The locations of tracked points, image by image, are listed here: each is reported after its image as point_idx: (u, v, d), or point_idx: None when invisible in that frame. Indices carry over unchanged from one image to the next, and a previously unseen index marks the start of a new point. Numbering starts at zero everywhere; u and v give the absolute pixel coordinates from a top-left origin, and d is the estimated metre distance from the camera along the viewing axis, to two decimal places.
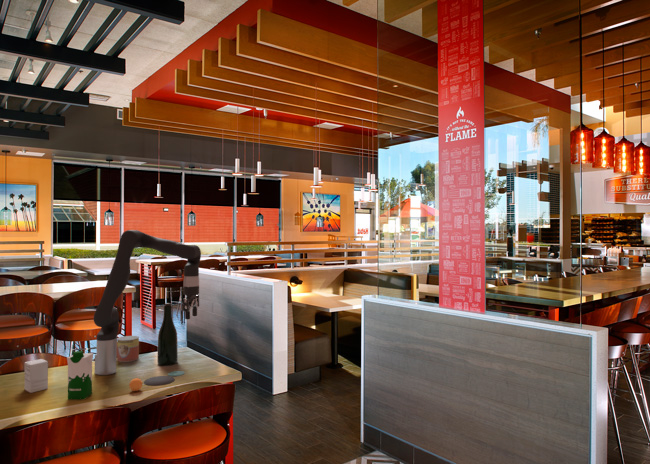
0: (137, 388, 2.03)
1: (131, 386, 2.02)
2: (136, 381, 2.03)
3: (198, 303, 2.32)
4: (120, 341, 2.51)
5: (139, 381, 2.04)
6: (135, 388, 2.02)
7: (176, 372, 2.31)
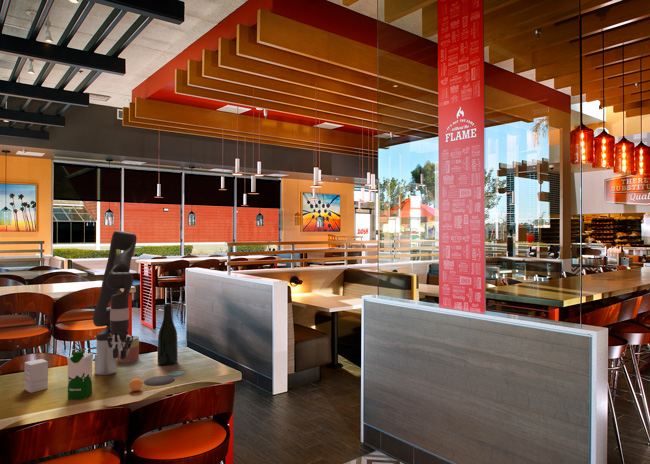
0: (137, 388, 2.03)
1: (131, 386, 2.02)
2: (136, 381, 2.03)
3: (125, 345, 1.93)
4: None
5: (139, 381, 2.04)
6: (135, 388, 2.02)
7: (176, 372, 2.31)
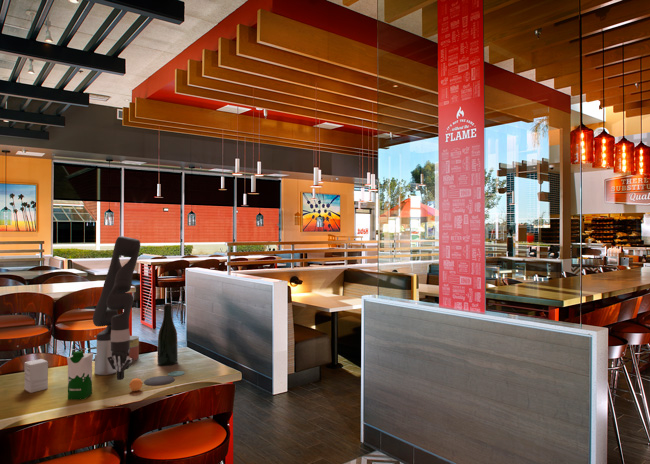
0: (137, 388, 2.03)
1: (131, 386, 2.02)
2: (136, 381, 2.03)
3: (123, 366, 1.94)
4: None
5: (139, 381, 2.04)
6: (135, 388, 2.02)
7: (176, 372, 2.31)
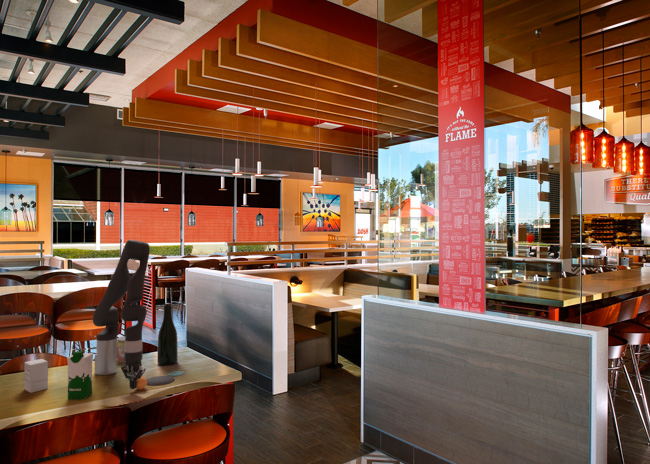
0: (141, 385, 2.05)
1: (137, 380, 2.05)
2: (143, 378, 2.07)
3: (136, 376, 2.02)
4: (120, 341, 2.51)
5: (146, 380, 2.07)
6: (139, 384, 2.04)
7: (176, 372, 2.31)
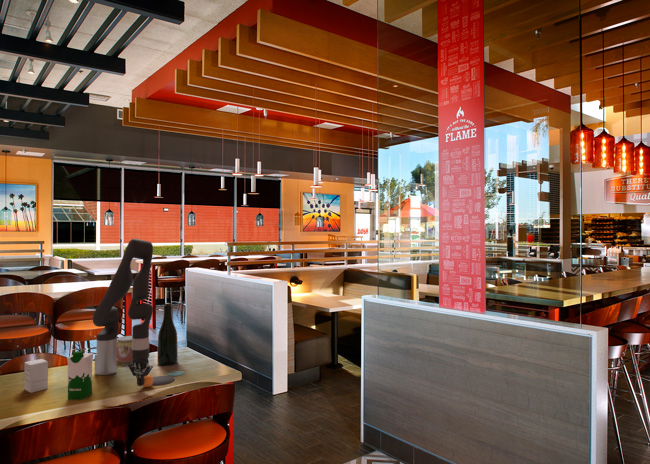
0: (149, 380, 2.08)
1: (148, 375, 2.10)
2: None
3: (143, 373, 2.05)
4: (120, 341, 2.51)
5: None
6: (148, 378, 2.09)
7: (176, 372, 2.31)
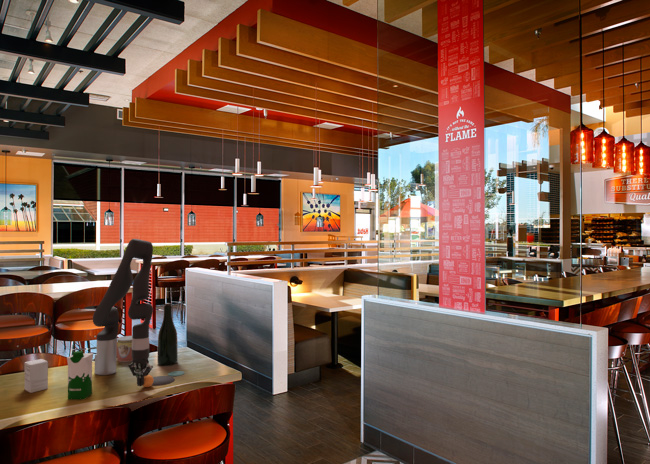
0: (149, 380, 2.08)
1: (149, 375, 2.10)
2: (153, 379, 2.11)
3: (143, 373, 2.05)
4: (120, 341, 2.51)
5: None
6: (148, 378, 2.09)
7: (176, 372, 2.31)
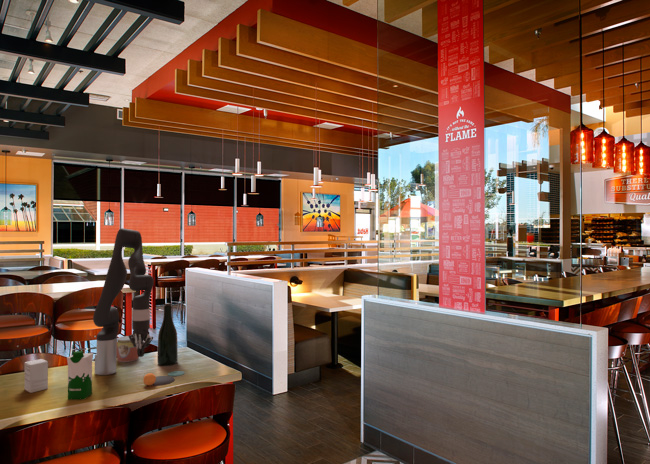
0: (152, 375, 2.12)
1: None
2: (155, 380, 2.14)
3: (144, 344, 2.05)
4: (120, 341, 2.51)
5: (154, 381, 2.12)
6: (153, 374, 2.13)
7: (176, 372, 2.31)
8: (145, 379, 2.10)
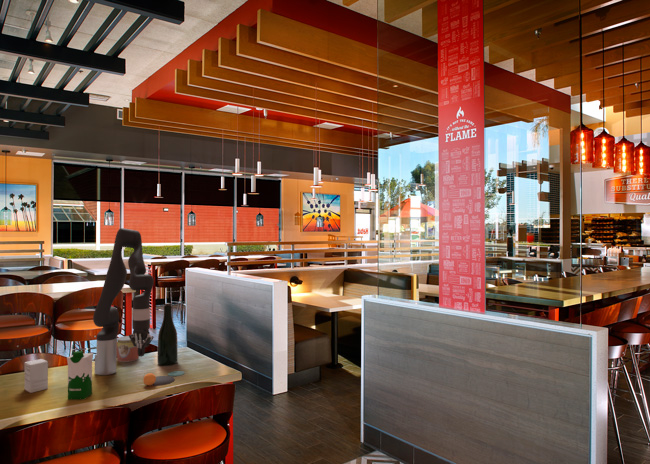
0: (152, 375, 2.12)
1: None
2: (155, 380, 2.14)
3: (144, 343, 2.06)
4: (120, 341, 2.51)
5: (154, 381, 2.12)
6: (153, 374, 2.13)
7: (176, 372, 2.31)
8: (145, 379, 2.10)
